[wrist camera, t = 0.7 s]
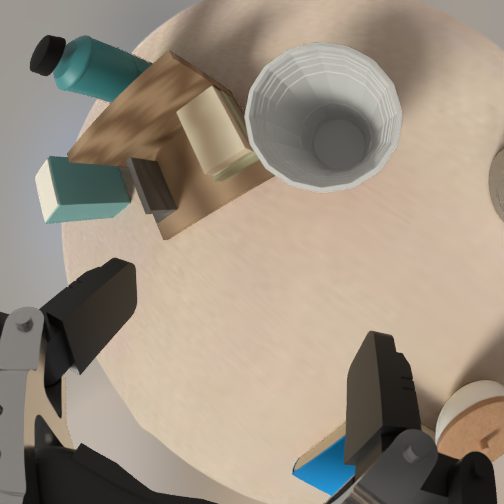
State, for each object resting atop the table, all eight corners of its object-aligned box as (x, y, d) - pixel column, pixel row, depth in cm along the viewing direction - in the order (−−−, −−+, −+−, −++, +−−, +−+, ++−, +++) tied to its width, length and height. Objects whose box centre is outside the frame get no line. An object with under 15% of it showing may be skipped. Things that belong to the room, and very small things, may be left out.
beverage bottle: (190, 84, 33) (64, 25, 15) (162, 125, 36) (29, 93, 17) (162, 67, 35) (47, 16, 16) (137, 105, 37) (17, 73, 19)
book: (375, 409, 27) (491, 475, 20) (376, 388, 31) (487, 456, 24) (288, 476, 32) (405, 529, 26) (297, 457, 36) (407, 511, 30)
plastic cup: (271, 173, 31) (217, 156, 20) (309, 85, 28) (275, 28, 17) (366, 217, 28) (364, 222, 17) (405, 122, 25) (422, 74, 14)
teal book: (116, 161, 40) (47, 156, 28) (130, 202, 39) (59, 205, 28) (99, 178, 41) (34, 176, 30) (112, 217, 41) (44, 224, 30)
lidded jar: (431, 442, 28) (435, 492, 19) (427, 381, 28) (437, 432, 19) (502, 417, 23) (519, 462, 15) (506, 352, 23) (535, 394, 15)
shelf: (229, 90, 32) (169, 50, 21) (275, 175, 31) (223, 159, 20) (137, 161, 38) (67, 153, 27) (168, 239, 38) (96, 252, 27)
